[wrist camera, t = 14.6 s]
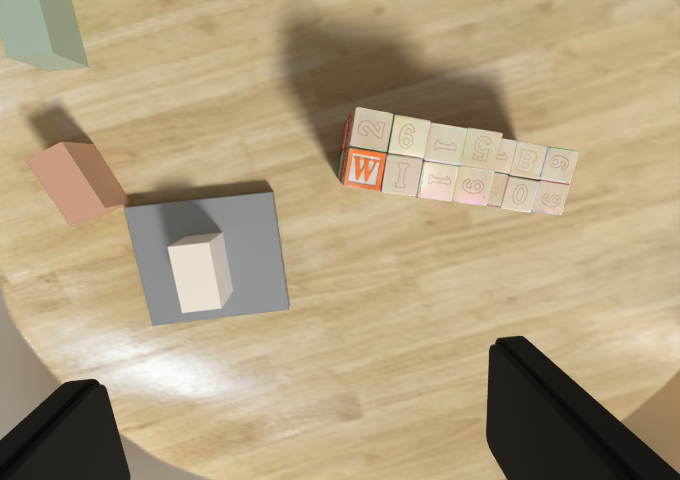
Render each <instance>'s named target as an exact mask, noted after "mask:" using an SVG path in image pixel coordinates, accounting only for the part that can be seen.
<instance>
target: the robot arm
mask: <svg viewBox="0 0 680 480" xmlns="http://www.w3.org/2000/svg"><path fill="white" fill-rule="evenodd" d="M486 437H487V442H488V445H489V448H490V450H491V452H492V454H493V456H494V457H495V459H496V461H497V463H498V464H499V466H500V468H501V469H502V471H503V473H504V475H505V476H506V478H507V480H680V474H679V473H678V472H677V471H675V470H674V469H673V468H672V467H671V466H670V465H669V464H668V463H666V462H665V461H664V460H663V459H662V458H661V457H660V456H658V455H657V454H656V453H655V452H654V451H653V450H652V449H650V448H649V447H648V446H647V445H646V444H645V443H644V442H642V441H641V440H640V439H639V438H638V437H637V436H636V435H635V434H633V433H632V432H631V431H630V430H629V429H628V428H627V427H626V426H624V425H623V424H622V423H621V422H620V421H619V420H618V419H617V418H615V417H614V416H613V415H612V414H611V413H610V412H609V411H608V410H606V409H605V408H604V407H603V406H602V405H601V404H600V403H598V402H597V401H596V400H595V399H594V398H593V397H592V396H591V395H589V394H588V393H587V392H586V391H585V390H584V389H583V388H581V387H580V386H579V385H578V384H577V383H576V382H575V381H574V380H572V379H571V378H570V377H569V376H568V375H567V374H566V373H564V372H563V371H562V370H561V369H560V368H559V367H558V366H557V365H555V364H554V363H553V362H552V361H551V360H550V359H549V358H548V357H546V356H545V355H544V354H543V353H542V352H541V351H540V350H538V349H537V348H536V347H535V346H534V345H533V344H532V343H531V342H529V341H528V340H527V339H526V338H525V337H523V336H513V337H503V338H498V339H497V340H496V342H495V344H494V345H491V346H490V349H489V371H488V398H487V425H486ZM0 480H130V472H129V469H128V465H127V461H126V457H125V454H124V450H123V447H122V443H121V439H120V436H119V432H118V428H117V425H116V421H115V418H114V414H113V410H112V407H111V403H110V399H109V396H108V392H107V389H106V387H105V386H104V385H100V383H99V382H98V381H97V380H95V379H87V380H77V381H69V382H65V383H64V384H62V385H61V386H60V387H59V388H58V389H57V390H55V391H54V392H53V393H52V394H51V395H50V396H49V397H48V398H47V399H46V400H45V401H43V402H42V403H41V404H40V405H39V406H38V407H37V408H36V409H34V410H33V411H32V412H31V413H30V414H29V415H28V416H27V417H26V418H24V419H23V420H22V421H21V422H20V423H19V424H18V425H17V426H16V427H15V428H13V430H11V431H10V432H9V433H8V434H7V435H6V436H5V437H4V438H2V439H1V440H0Z"/></svg>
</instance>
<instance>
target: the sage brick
mask: <svg viewBox="0 0 680 480" xmlns="http://www.w3.org/2000/svg"><path fill="white" fill-rule="evenodd" d="M0 35H1V38H2V41H3V45H4V48H5V51H6V55H7V58H10V59H13V60H16V61H19V62H22V63H25V64H28V65H31V66H34V67H37V68H40V69H43V70H46V71H49V72H50V71H60V70H69V69H79V68H89V66H88V62H87V58H86V55H85V51H84V47H83V43H82V39H81V35H80V31H79V27H78V23H77V19H76V15H75V11H74V8H73V4H72V0H0Z"/></svg>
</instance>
